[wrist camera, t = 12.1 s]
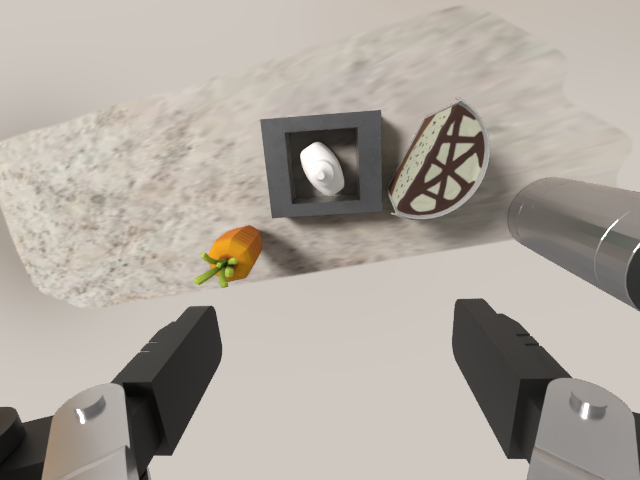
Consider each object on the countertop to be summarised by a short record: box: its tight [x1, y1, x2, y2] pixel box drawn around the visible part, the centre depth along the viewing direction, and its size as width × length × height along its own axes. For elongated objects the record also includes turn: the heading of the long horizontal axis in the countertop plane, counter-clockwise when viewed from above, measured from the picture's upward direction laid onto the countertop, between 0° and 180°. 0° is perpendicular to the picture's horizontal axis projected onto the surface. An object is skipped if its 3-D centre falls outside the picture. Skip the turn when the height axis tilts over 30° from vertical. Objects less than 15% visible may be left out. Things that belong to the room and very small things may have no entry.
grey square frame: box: [260, 110, 382, 218], centre depth 37 cm, size 13×11×4 cm
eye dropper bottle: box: [300, 142, 344, 196], centre depth 34 cm, size 4×6×12 cm
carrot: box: [194, 225, 262, 288], centre depth 35 cm, size 5×5×15 cm
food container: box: [386, 97, 490, 220], centre depth 34 cm, size 12×6×10 cm, turn 155°
